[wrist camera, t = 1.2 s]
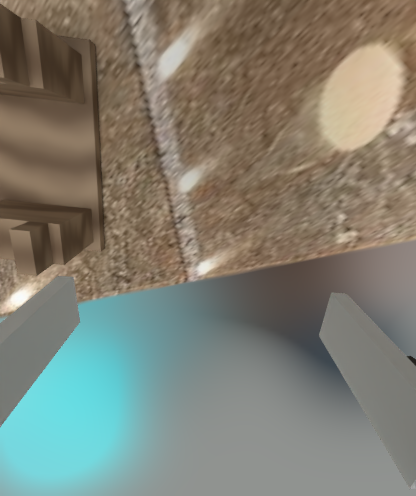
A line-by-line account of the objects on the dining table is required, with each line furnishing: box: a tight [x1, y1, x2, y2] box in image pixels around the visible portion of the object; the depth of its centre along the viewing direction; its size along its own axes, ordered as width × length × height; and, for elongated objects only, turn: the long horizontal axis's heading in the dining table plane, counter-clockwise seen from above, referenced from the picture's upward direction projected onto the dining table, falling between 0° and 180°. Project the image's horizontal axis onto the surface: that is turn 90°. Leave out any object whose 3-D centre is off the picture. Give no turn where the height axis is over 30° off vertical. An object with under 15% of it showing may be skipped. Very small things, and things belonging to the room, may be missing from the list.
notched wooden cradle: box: [0, 4, 105, 276], centre depth 28 cm, size 26×14×12 cm, turn 174°
